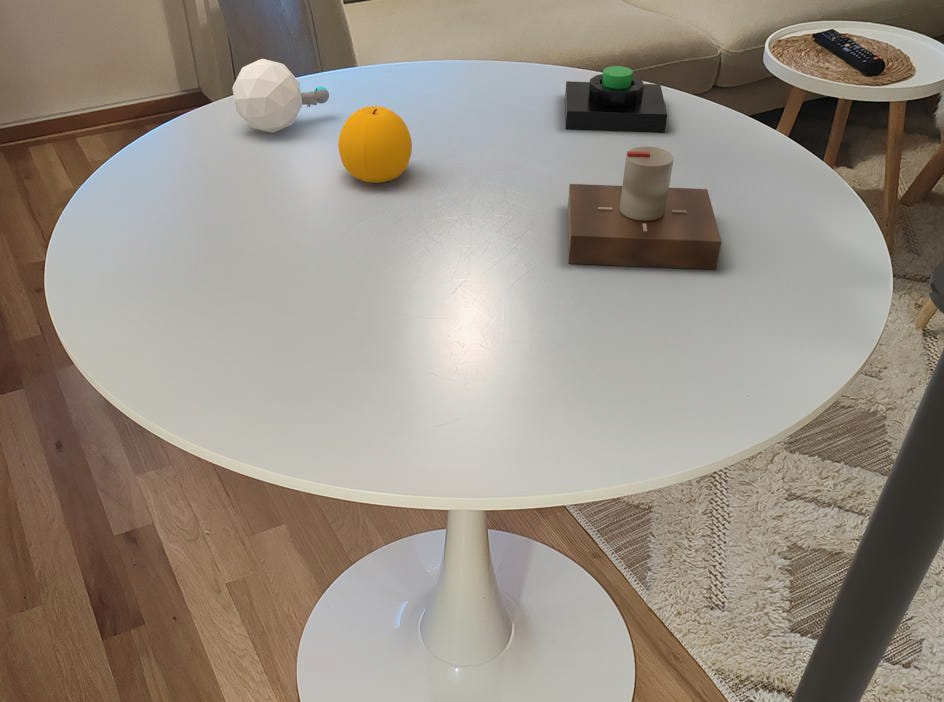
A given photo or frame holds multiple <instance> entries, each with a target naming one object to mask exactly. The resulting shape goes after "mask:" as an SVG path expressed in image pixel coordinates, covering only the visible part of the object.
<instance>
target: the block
mask: <svg viewBox="0 0 944 702" xmlns="http://www.w3.org/2000/svg"><path fill="white" fill-rule="evenodd" d="M602 78H603V73H601V74H596V75H594V76H593V77H591V78H590V79H589V81H569V80H568V81H566V82H565V92H564V118H565V119H564V120H565V121H564V122H565V124H564V125H565V130H583V131H584V130H585V131H613V132H615V131H616V132H639V133H640V132H642V133H643V132H644V133H665V132H666V126H667V120H668V112H667V107H666V103H665V98H664V94H663V89H662V85H661V84H660V83H644V80H642V79H640V78H638V77H637V76H635V75H633V76H632V84H631V87H630V88H624V89H613V88H609V87H605V86H603V85H602Z"/></svg>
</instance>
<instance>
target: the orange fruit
mask: <svg viewBox="0 0 944 702" xmlns="http://www.w3.org/2000/svg"><path fill="white" fill-rule="evenodd" d="M337 143H338V145H337V146H338V147H337V148H338V153H339V158H340V160H341V163H342V166H343V168H345V170H346V171H347V173H349V174H350V175H351V176H353V177H354V178H355V179H357V180H359V181H362V182H364V183H365V182H366V183H371V184H372V183H373V184H374V183H375V184H380V183H386V182H391V181H392V180H395V179H396V178H398V177H400V175H402V174H403V173H404V171H406V169H407V168H408V166H409V163H410V160H411V157H412V152H413V142H412V136H411V133H410V131H409V128H408V126H407V124H406V122H405V121H404V120H403V118H402V117H401V116H399V115H398V114H397V113H395V112H394V111H393V110H391V109H389V108H386V107H384V106H378V105H371V106H364V107H362V108H359V109H358V110H356V111H354V112H353V113H351V115H350V116H348V118H347V119H346V120H345V122H344V124H343V126H342V127H341V130H340V133H339V136H338V142H337Z"/></svg>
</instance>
